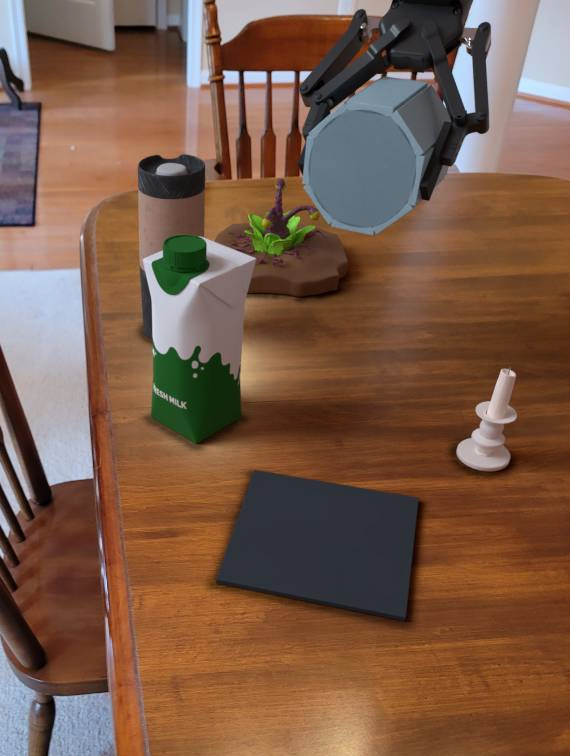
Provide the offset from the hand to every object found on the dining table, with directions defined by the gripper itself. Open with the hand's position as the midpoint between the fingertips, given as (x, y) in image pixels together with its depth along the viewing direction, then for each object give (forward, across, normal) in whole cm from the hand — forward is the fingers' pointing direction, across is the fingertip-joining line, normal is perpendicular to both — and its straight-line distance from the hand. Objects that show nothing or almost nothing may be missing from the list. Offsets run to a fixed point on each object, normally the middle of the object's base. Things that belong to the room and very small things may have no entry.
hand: (361, 182), depth 83 cm
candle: (+21, +20, +10) cm, 30 cm away
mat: (+35, +11, -5) cm, 37 cm away
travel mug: (+16, -21, +14) cm, 30 cm away
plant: (0, -18, +31) cm, 36 cm away
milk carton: (+27, -9, +3) cm, 29 cm away
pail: (-4, 0, +2) cm, 4 cm away
